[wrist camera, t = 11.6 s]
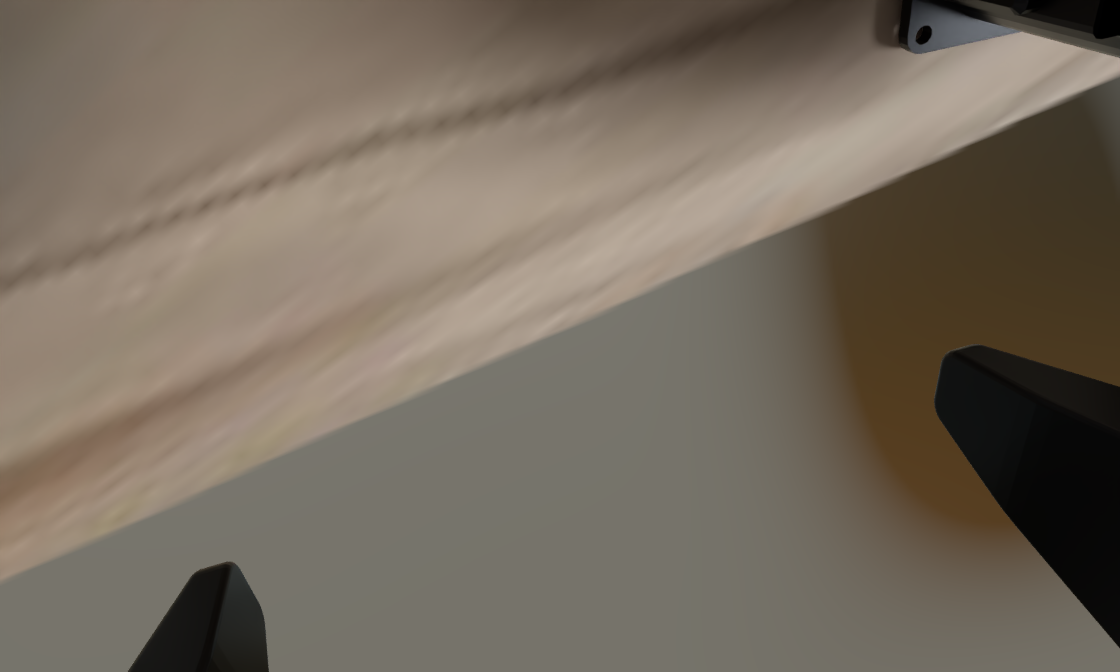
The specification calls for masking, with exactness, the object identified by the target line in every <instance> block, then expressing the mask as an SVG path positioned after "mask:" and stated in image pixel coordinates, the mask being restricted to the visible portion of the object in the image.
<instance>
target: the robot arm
mask: <svg viewBox="0 0 1120 672" xmlns="http://www.w3.org/2000/svg"><path fill="white" fill-rule="evenodd" d="M921 27H923V31H922V34H921V36H920V37H919V39H918V40H916V34H917V32H918V30H919V29H920V28H921ZM1017 32H1025V33H1029V34H1033V35H1037V36H1040V37H1044V38H1048V39H1051V40H1055V41H1059V42H1062V43H1066V44H1070V45H1074V46H1077V47H1081V48H1085V49H1088V50H1092V51H1096V52H1100V53H1103V54H1107V55H1111V56H1114V57H1118V58H1120V0H903V4H902V12H901V21H900V29H899V43H900V45H901V47H902V48H903V49H905V50H907V51H909V52H912V53H915V54H922V53H927V52H931V51H936V50H940V49H945V48H949V47H954V46H958V45H963V44H968V43H972V42H977V41H981V40H986V39H990V38H995V37H999V36H1004V35H1008V34H1013V33H1017ZM934 403H935V409H936V413H937V415H938V417H939V419H940V420H941V422H942V424H943V425H944V426H945V428H946V429H947V431H948V432H949V434H950V435H951V437H952V438H953V439H954V441H955V442H956V443H957V445H958V447H959V448H960V450H961V451H962V452H963V454H964V455H965V457H966V458H967V460H968V461H969V462H970V464H971V465H972V467H973V468H974V470H975V471H976V472H977V474H978V476H979V477H980V478H981V480H982V481H983V483H984V484H985V486H986V487H987V488H988V490H989V491H990V493H991V494H992V496H993V497H994V498H995V500H996V501H997V503H998V504H999V505H1000V507H1001V508H1002V509H1003V511H1004V512H1005V513H1006V514H1007V516H1008V517H1009V518H1010V519H1011V521H1012V522H1013V523H1014V524H1015V526H1017V528H1018V529H1019V530H1020V532H1021V533H1022V534H1023V535H1024V536H1025V537H1026V538H1027V540H1028V541H1029V542H1030V543H1031V545H1032V546H1033V547H1034V548H1035V549H1036V550H1037V552H1038V553H1039V554H1040V555H1041V556H1042V557H1043V559H1044V560H1045V561H1046V562H1047V563H1048V564H1049V566H1050V567H1051V568H1052V569H1053V570H1054V572H1055V573H1056V574H1057V575H1058V576H1059V577H1060V579H1061V580H1062V581H1063V582H1064V583H1065V584H1066V586H1067V587H1068V588H1069V589H1070V590H1071V592H1072V593H1073V594H1074V595H1075V596H1076V597H1077V599H1078V600H1079V601H1080V602H1081V603H1082V604H1083V606H1084V607H1085V608H1086V609H1087V610H1088V611H1089V612H1090V614H1091V615H1092V616H1093V617H1094V618H1095V620H1096V621H1097V622H1098V623H1099V624H1100V626H1101V627H1102V628H1103V629H1104V630H1105V631H1106V632H1107V634H1108V635H1109V636H1110V637H1111V638H1112V640H1113V641H1114V642H1115V643H1116V644H1117V646H1118V647H1119V648H1120V387H1118V386H1115V385H1112V384H1108V383H1105V382H1102V381H1099V380H1095V379H1092V378H1089V377H1085V376H1082V375H1079V374H1075V373H1072V372H1069V371H1066V370H1062V369H1059V368H1055V367H1052V366H1049V365H1046V364H1043V363H1039V362H1036V361H1033V360H1029V359H1026V358H1023V357H1019V356H1016V355H1013V354H1010V353H1006V352H1003V351H999V350H996V349H993V348H990V347H987V346H983V345H979V344H973V345H968V346H965V347H962V348H958V349H955V350H951V351H949V352H947V353H946V354H945V356H944V357H943V358H942V362H941V366H940V372H939V377H938V382H937V387H936V392H935V398H934ZM128 672H269V668H268V656H267V643H266V630H265V621H264V616H263V613H262V609H261V606H260V604H259V602H258V600H257V599H256V597H255V595H254V594H253V591H252V590H251V588H250V586H249V585H248V582H247V581H246V579H245V577H244V575H243V574H242V572H241V570H240V568H239V567H238V566H237V565H236V564H235V563H233V562H224V563H221V564H217V565H214V566H211V567H207V568H204V569H200V570H199V571H197V572H195V573H194V574H193V575H192V576H191V578H190V579H189V581H188V582H187V583H186V585H185V586H184V588H183V589H182V591H181V593H180V594H179V595H178V597H177V598H176V600H175V602H174V603H173V604H172V606H171V607H170V609H169V611H168V612H167V614H166V615H165V616H164V618H163V620H162V621H161V622H160V624H159V625H158V627H157V629H156V630H155V632H154V633H153V634H152V636H151V638H150V639H149V641H148V642H147V643H146V645H145V647H144V648H143V649H142V651H141V653H140V654H139V655H138V657H137V658H136V660H135V661H134V663H133V664H132V666H131V668H130V669H129V670H128Z"/></svg>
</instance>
